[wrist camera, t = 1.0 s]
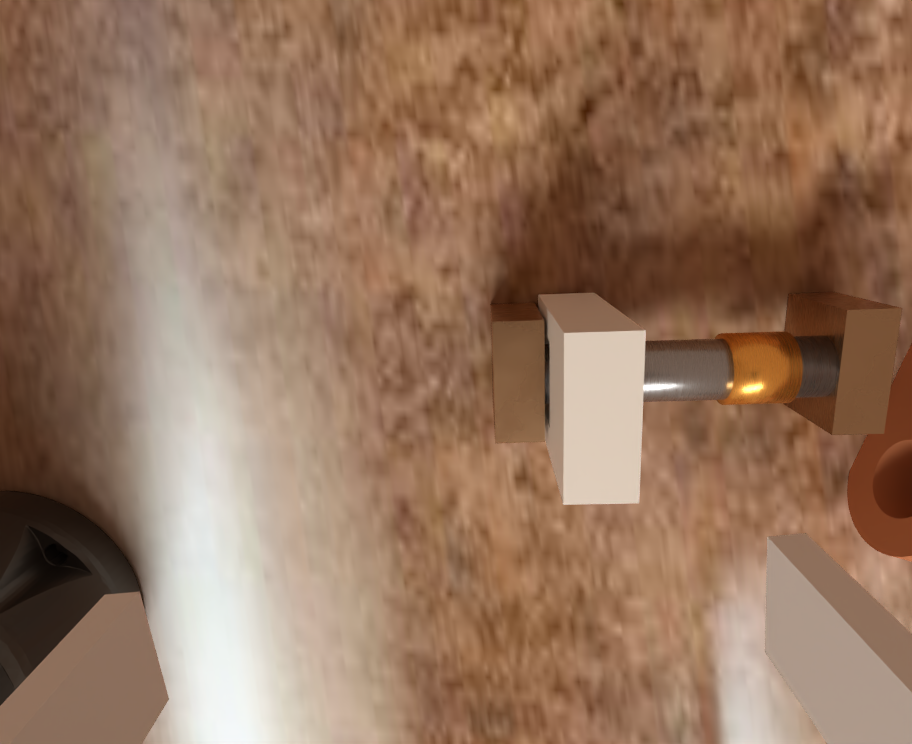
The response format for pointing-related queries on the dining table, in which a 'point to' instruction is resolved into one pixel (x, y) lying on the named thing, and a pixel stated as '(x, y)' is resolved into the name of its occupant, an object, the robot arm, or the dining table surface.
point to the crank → (887, 475)
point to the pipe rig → (725, 366)
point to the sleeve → (593, 398)
